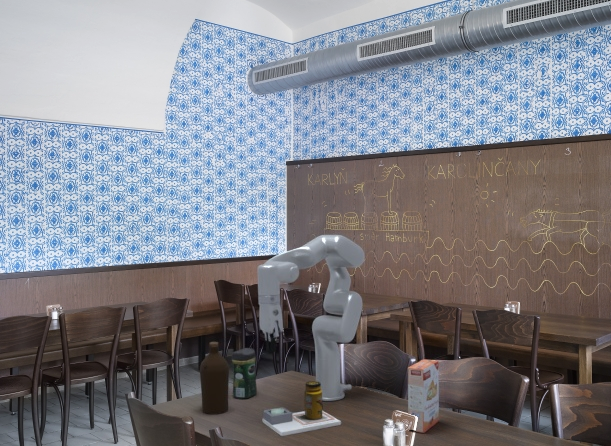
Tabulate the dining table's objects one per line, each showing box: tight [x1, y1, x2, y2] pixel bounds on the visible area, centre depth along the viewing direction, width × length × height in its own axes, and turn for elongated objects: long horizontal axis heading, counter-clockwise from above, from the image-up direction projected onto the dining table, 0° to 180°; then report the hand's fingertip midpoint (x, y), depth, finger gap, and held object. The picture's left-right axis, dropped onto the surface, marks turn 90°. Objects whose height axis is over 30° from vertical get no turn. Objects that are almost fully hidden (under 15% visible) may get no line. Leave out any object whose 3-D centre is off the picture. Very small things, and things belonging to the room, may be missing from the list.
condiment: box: [295, 380, 327, 423], centre depth 215 cm, size 7×8×12 cm
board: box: [262, 406, 342, 437], centre depth 213 cm, size 22×16×4 cm
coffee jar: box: [231, 347, 258, 399], centre depth 248 cm, size 10×8×19 cm
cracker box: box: [407, 358, 440, 434], centre depth 208 cm, size 14×6×21 cm, turn 148°
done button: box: [271, 407, 284, 415], centre depth 214 cm, size 4×4×3 cm
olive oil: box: [199, 341, 230, 415], centre depth 230 cm, size 11×11×25 cm
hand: (271, 351), depth 219 cm, fingers closed
